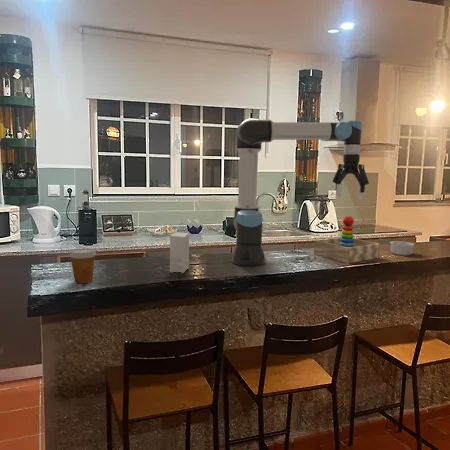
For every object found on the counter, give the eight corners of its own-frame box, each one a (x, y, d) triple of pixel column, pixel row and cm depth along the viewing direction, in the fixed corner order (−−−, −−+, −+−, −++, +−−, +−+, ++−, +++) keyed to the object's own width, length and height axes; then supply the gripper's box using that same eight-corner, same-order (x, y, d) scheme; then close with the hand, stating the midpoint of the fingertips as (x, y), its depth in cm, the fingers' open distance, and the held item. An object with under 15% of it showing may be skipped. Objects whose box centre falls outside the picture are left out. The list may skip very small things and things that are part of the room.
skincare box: (175, 267, 188) (175, 232, 185) (190, 268, 187) (190, 232, 184) (169, 272, 180) (169, 235, 177) (184, 273, 178) (184, 236, 176)
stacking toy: (356, 255, 211) (358, 217, 208) (340, 255, 211) (342, 217, 209) (352, 252, 219) (354, 215, 216) (336, 251, 219) (338, 214, 216)
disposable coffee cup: (100, 278, 169) (99, 248, 167) (91, 285, 160) (90, 253, 158) (76, 278, 170) (75, 247, 168) (66, 284, 160) (64, 252, 158)
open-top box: (347, 263, 200) (348, 248, 199) (313, 254, 219) (314, 240, 218) (379, 257, 212) (380, 243, 211) (344, 249, 231) (345, 236, 230)
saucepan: (386, 247, 238) (387, 237, 237) (418, 254, 221) (419, 244, 220) (371, 249, 233) (372, 239, 232) (403, 257, 215) (404, 246, 215)
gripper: (378, 154, 200) (375, 200, 203) (337, 154, 221) (335, 196, 224) (367, 153, 196) (364, 200, 199) (326, 153, 217) (324, 196, 220)
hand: (349, 198), depth 211 cm, fingers open, 13 cm apart
